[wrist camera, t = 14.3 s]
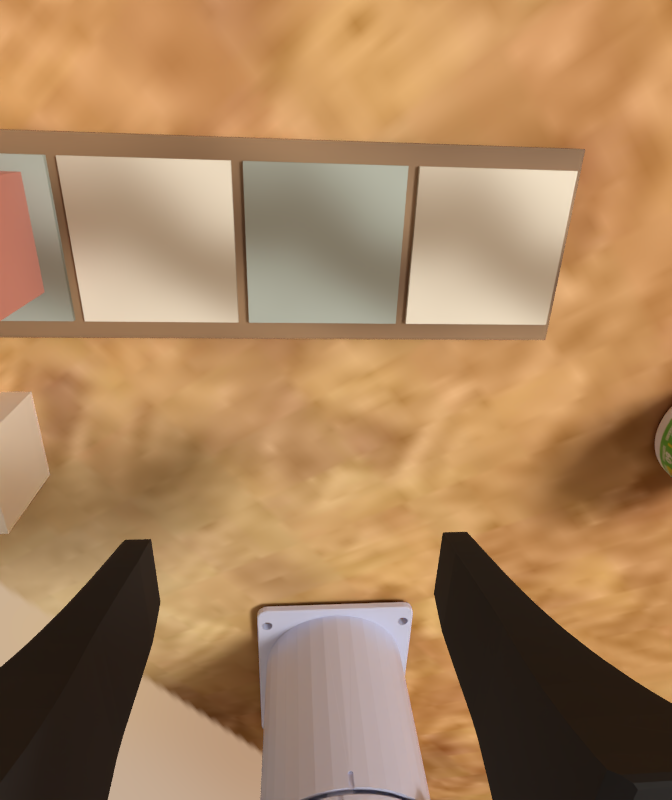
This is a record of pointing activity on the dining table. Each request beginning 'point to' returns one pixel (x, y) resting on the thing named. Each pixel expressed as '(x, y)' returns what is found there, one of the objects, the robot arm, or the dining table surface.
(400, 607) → the robot arm
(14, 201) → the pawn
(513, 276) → the track
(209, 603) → the dining table surface
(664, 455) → the supplement bottle
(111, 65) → the dining table surface
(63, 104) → the dining table surface
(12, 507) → the die
